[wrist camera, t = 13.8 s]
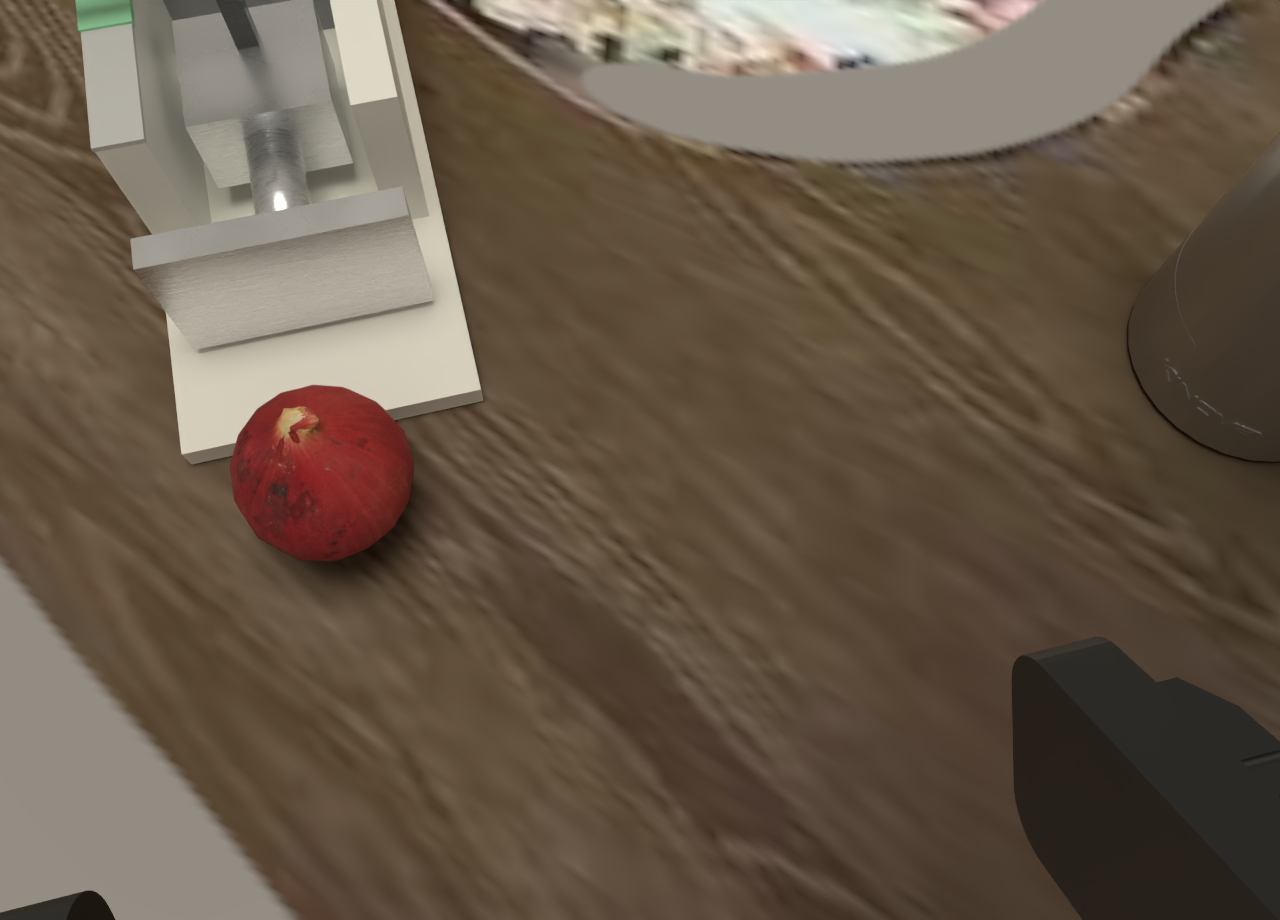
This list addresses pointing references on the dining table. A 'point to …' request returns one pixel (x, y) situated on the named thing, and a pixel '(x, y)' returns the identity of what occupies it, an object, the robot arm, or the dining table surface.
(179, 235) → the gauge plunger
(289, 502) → the red pomegranate
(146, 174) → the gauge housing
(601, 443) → the dining table surface
